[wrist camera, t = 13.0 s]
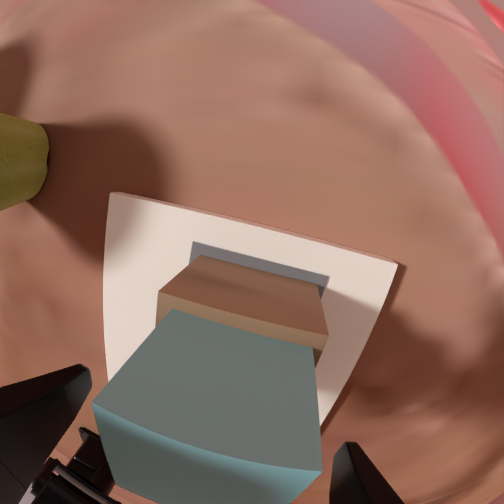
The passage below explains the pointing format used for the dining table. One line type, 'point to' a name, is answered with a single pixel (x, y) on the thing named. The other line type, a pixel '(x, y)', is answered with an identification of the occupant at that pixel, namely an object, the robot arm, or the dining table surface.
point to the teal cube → (212, 416)
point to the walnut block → (248, 301)
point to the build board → (243, 253)
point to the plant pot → (21, 159)
